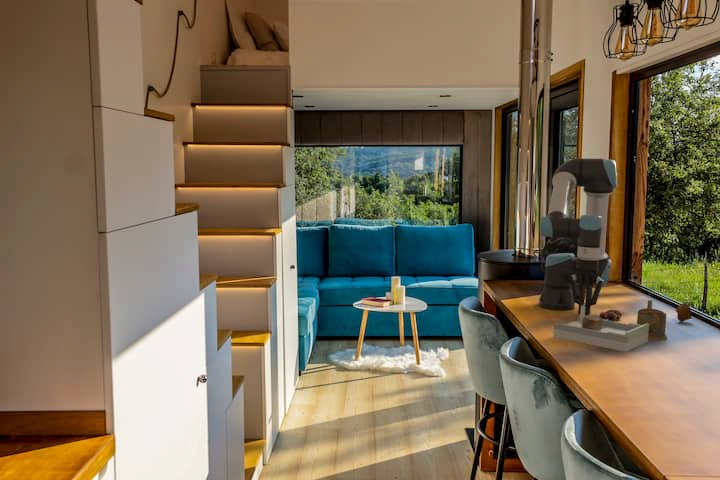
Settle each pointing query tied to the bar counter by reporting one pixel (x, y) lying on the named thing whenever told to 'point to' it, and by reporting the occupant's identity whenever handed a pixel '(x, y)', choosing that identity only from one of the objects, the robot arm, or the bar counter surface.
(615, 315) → the figurine
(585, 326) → the block
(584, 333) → the grey rectangular tray
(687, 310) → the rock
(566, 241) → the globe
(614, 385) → the bar counter surface
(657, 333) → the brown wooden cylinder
